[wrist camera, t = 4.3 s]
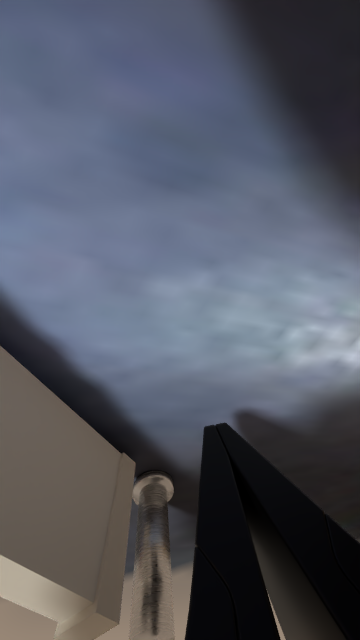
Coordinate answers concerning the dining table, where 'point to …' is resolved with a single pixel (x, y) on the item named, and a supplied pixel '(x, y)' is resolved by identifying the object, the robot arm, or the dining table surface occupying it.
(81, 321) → the dining table surface
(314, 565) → the robot arm
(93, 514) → the gate
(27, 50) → the dining table surface
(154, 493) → the post
